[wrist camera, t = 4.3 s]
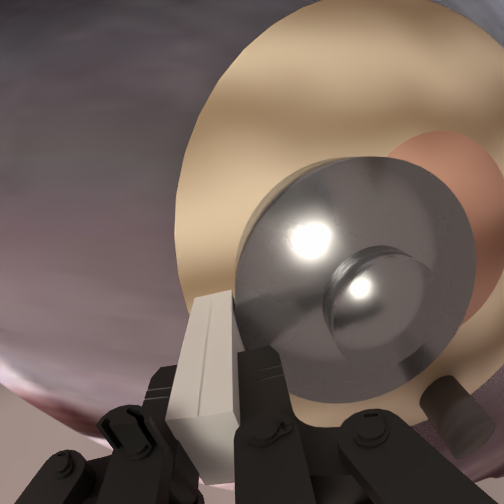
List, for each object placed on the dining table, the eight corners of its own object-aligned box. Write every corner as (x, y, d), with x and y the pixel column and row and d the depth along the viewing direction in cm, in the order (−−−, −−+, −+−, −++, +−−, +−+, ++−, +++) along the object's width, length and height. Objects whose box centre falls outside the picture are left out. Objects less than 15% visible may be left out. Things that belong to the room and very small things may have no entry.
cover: (207, 186, 12) (191, 199, 8) (426, 142, 12) (492, 140, 8) (264, 385, 15) (272, 451, 11) (439, 330, 15) (484, 374, 11)
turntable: (129, 46, 12) (67, -18, 5) (513, 30, 12) (577, 13, 5) (252, 452, 19) (260, 533, 13) (531, 339, 19) (577, 376, 12)
